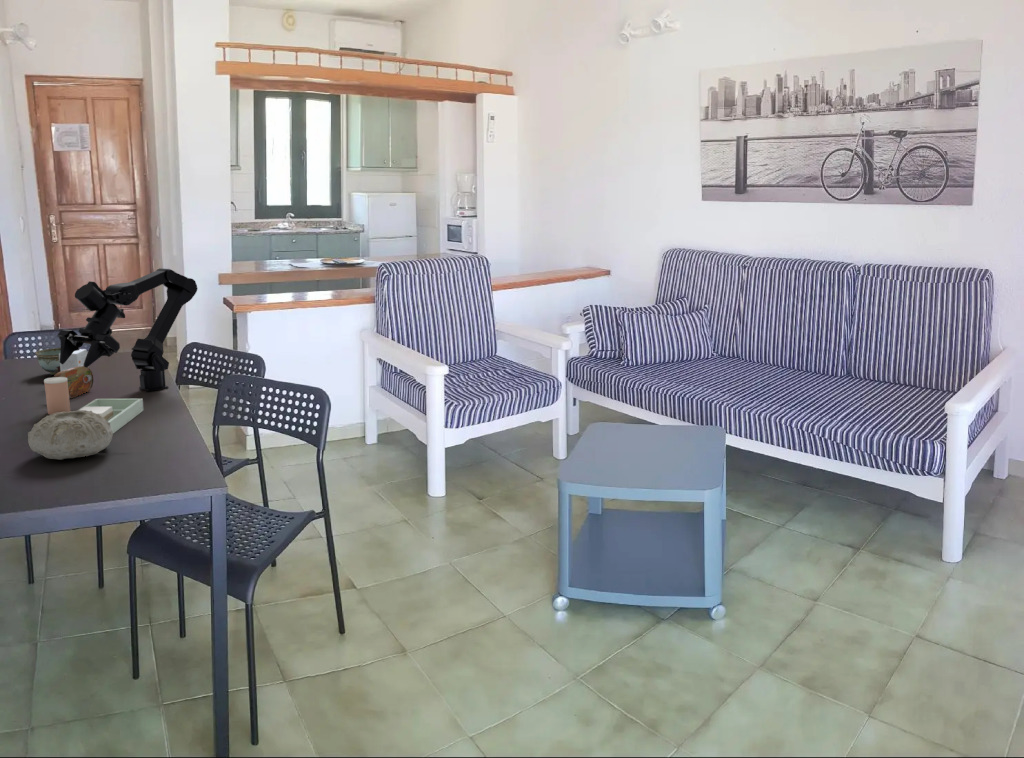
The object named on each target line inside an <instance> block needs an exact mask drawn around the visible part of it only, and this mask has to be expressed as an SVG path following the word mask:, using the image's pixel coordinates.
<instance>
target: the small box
mask: <svg viewBox="0 0 1024 758" xmlns="http://www.w3.org/2000/svg"><path fill="white" fill-rule="evenodd" d="M79 349H80V350H78V351H74V352H73V353H72V354H71V356H70V357H69V358H68V359H67V361H66V362H65V363H64V364H61V363H60V370H61V371H64V370H67V369H70V368H74V367H78V366H84V361H85V359H86V356H87V353H88V352H87V349H86V348H79ZM59 362H60V354H59Z"/></svg>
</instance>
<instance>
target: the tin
mask: <svg viewBox="0 0 1024 758" xmlns="http://www.w3.org/2000/svg"><path fill="white" fill-rule="evenodd" d="M53 377H66V378H67V380H68V381H67V382H68V391H69V400H71V399H73V398H76V397H78V395H79V396H81V394H82V395H84V394H83V393H85V394H87V393H89V392H90V391H91V389H92V388H93V384H94V374H93V372H92V369H90V367H89V366H88V367H87V368H86V367H84V366H78V367H74V368H70V369H67V370H64V371H61V372H58V373H57V374H56V375H55V376H53ZM86 392H87V393H86ZM70 398H71V399H70Z"/></svg>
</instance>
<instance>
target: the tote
mask: <svg viewBox="0 0 1024 758" xmlns="http://www.w3.org/2000/svg"><path fill="white" fill-rule="evenodd" d="M83 407H112V410H113V418H112V419H110V420H109V421H108V422H110V426H111V428H112V431H113V434H114V433H116V432H118V431H119V430H120V429H121V428H122V427H124V426H125V425H127V424H128V423H129V422H130V421H132V420H133V419H134V418H136V417H137V416H139V414H140V413H142V412H144V400H143V398H95V399H93V400H91V402H89V403H87V404H86V405H83V406H82V407H80V408H79V409H78V410H80V409H82V408H83Z"/></svg>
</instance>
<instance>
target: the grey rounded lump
mask: <svg viewBox="0 0 1024 758" xmlns="http://www.w3.org/2000/svg"><path fill="white" fill-rule="evenodd" d="M113 435H114V433H113V431H112V428H111V426H110V422H108V421H107V420H106V419H104V418H103V417H102V416H100V415H99V414H96V413H93V412H92V411H87V410H79V409H77V410H73V411H71V412H65V411H64V412H58V413H55V414H54V413H53V414H52V415H49V414H48V415H46V416H45V417H43V418H41V420H39V421H38V422H37V423H34V424H33V427H32V429H31V431H28V432H27V437H28V438H27V442H28V445H29V447H30V450H31V451H32V452H34V453H38V454H39V455H41V456H43V457H45V458H46V459H49V460H50V459H51V460H58V461H59V460H64V459H65V460H66V459H75V458H82V457H83V458H84V457H85V456H86V457H89V456H93V455H96V454H98V453H99V452H102V451H104V449H106V448H107V447H108V446H109V445H110V444H111V443H112V442H111V441H112V439H113ZM86 457H85V458H86Z"/></svg>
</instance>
